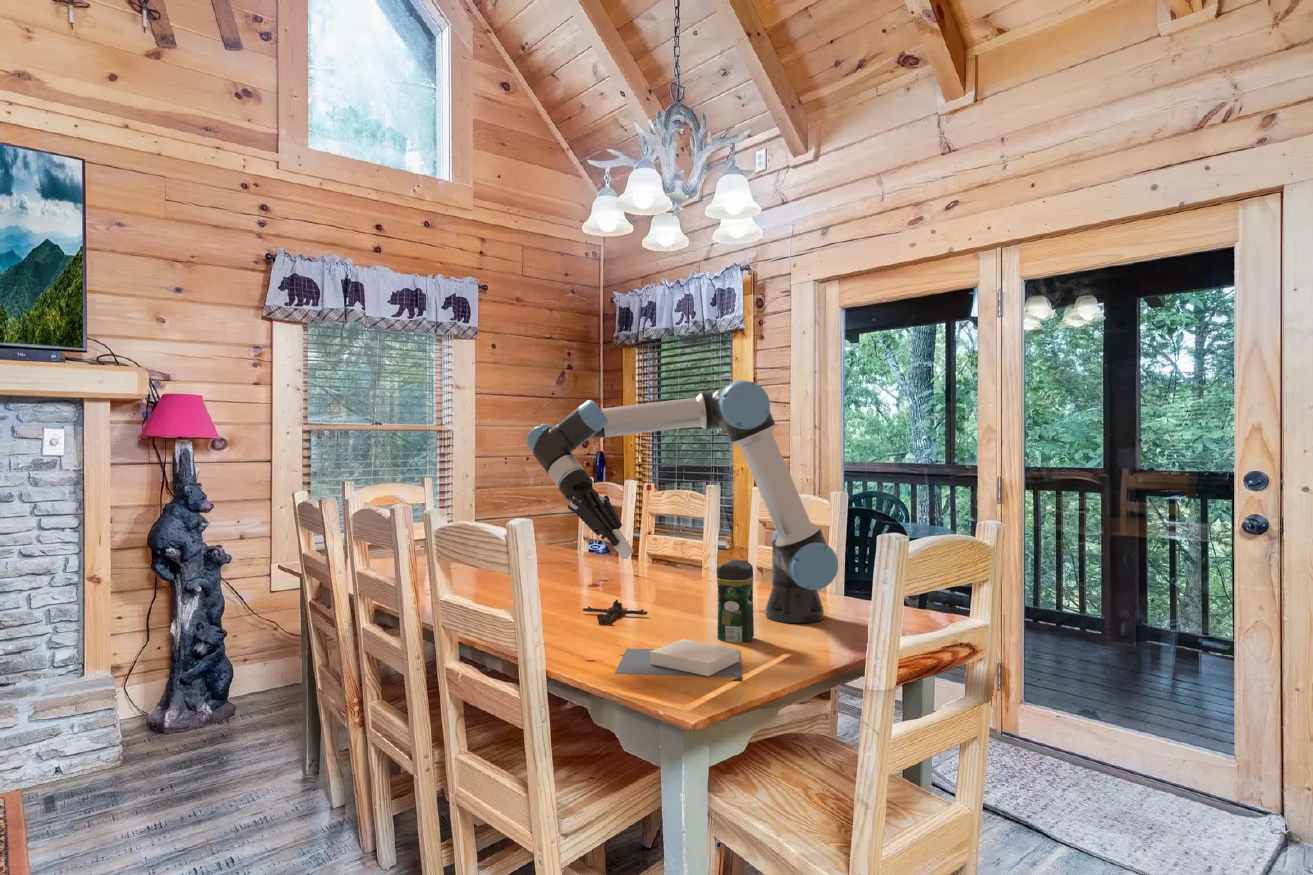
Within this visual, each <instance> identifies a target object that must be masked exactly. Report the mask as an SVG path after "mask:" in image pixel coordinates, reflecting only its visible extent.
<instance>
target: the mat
mask: <svg viewBox="0 0 1313 875" xmlns="http://www.w3.org/2000/svg"><path fill="white" fill-rule="evenodd" d="M655 649H656V648H630V647H628V648H626V649H625V652H624V653H623V655H622V657H621V659H620V662H619V663H618V666H617V668H616V670H615V671H614V674H615V675H642V676H643V675H648V676H649V675H650V676H651V675H652V676H679V677H680V676H683V677H686V676H687V677H703V676H702V675H697V674H692V673H688V672H683V671H678V670H673V669H669V668H664V667H659V666H655V665H653V664H650V651H652V650H655ZM710 677H714V678H715V677H719V678H720V677H722V678H734V679H732V680H731V682H743V677H744V676H743V665H742V652H741V650H739V662H737V663H735V664H733V665H731V666H729V667H727V668H725V669H723V670H721V671H719V672H717V673H715V674H713V675H711V676H710Z"/></svg>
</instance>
